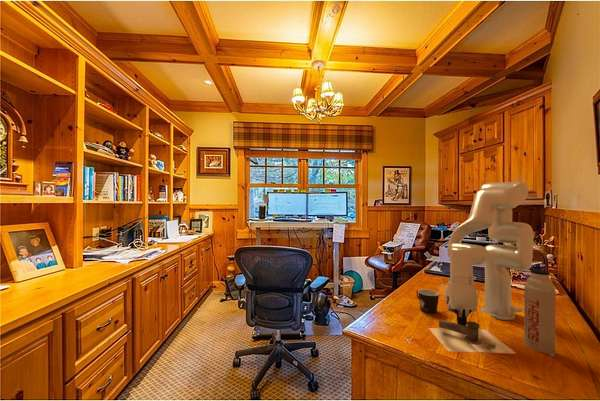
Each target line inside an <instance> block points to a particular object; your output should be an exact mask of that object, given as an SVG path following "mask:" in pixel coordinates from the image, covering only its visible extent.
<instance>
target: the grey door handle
mask: <svg viewBox="0 0 600 401" xmlns="http://www.w3.org/2000/svg"><path fill="white" fill-rule="evenodd" d="M480 327H481V326H480V324H479V323H478V322H475V321H470V320H469V321H467V324H466V326H464V325H460V324H457V322H452V321H448V320H446V319H445V320H444V319H439V320H438V328H443V329H448V330H451V331H455V332H458V333H462V334H465V335H468V339H470V340H472V341H478V340H479V341H483V342H486V343H489V344H493V345H495V344H496V343H495V342H492V341H488V340H485V339H481V338H478V329H480Z"/></svg>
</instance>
